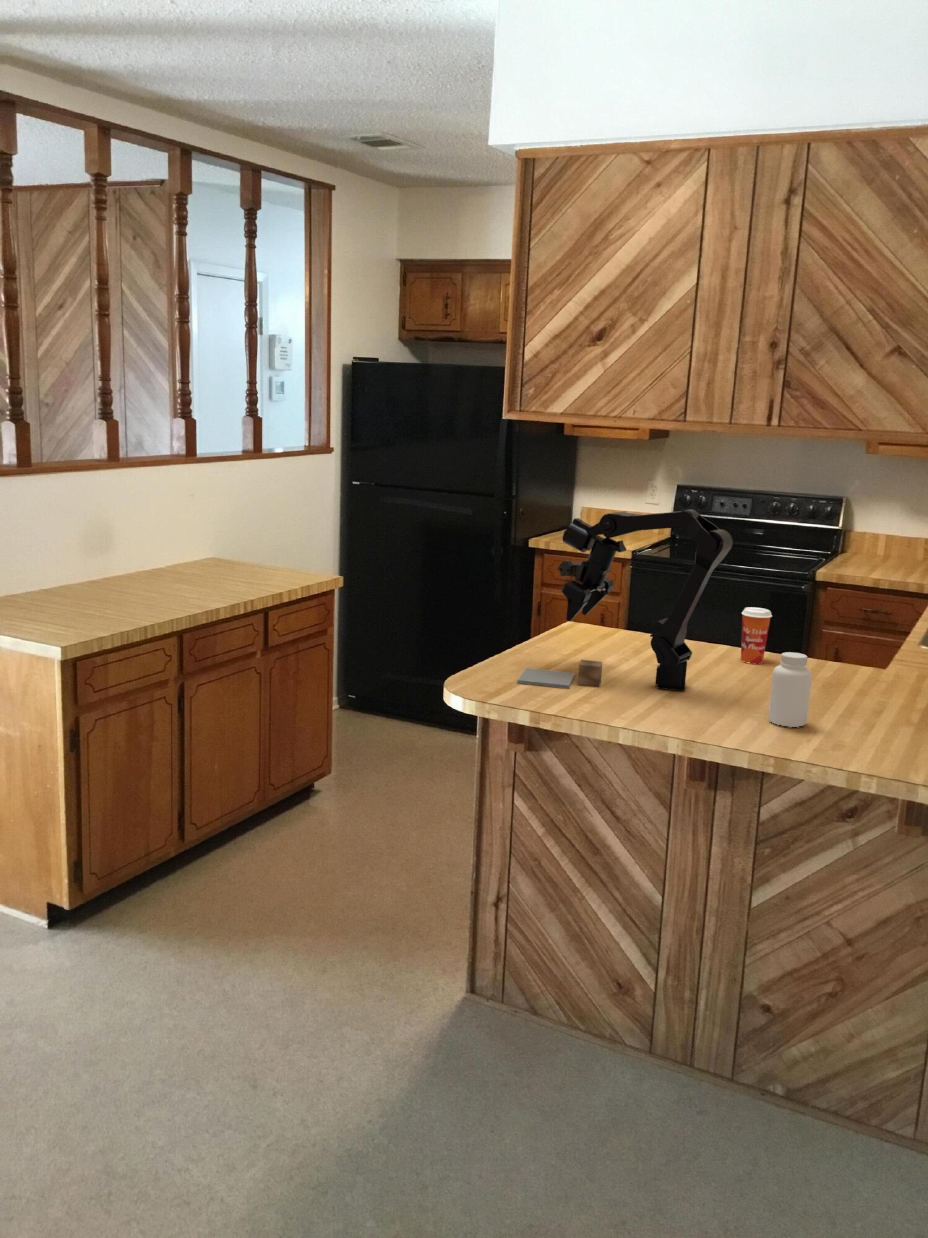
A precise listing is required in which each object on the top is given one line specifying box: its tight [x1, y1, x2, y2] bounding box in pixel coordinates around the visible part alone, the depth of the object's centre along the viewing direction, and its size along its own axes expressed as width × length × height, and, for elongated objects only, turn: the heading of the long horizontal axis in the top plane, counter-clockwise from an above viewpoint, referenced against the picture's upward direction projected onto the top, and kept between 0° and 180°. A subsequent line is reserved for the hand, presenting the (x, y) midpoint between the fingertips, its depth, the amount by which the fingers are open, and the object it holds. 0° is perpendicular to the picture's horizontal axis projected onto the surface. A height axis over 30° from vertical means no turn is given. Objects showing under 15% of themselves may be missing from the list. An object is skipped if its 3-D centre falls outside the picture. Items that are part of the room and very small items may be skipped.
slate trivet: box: [517, 667, 576, 690], centre depth 255 cm, size 12×12×1 cm
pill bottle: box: [768, 651, 813, 728], centre depth 228 cm, size 8×8×15 cm
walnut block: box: [577, 659, 603, 688], centre depth 254 cm, size 5×5×5 cm
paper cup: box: [740, 606, 773, 663], centre depth 282 cm, size 8×8×14 cm
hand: (576, 617), depth 265 cm, fingers open, 9 cm apart
